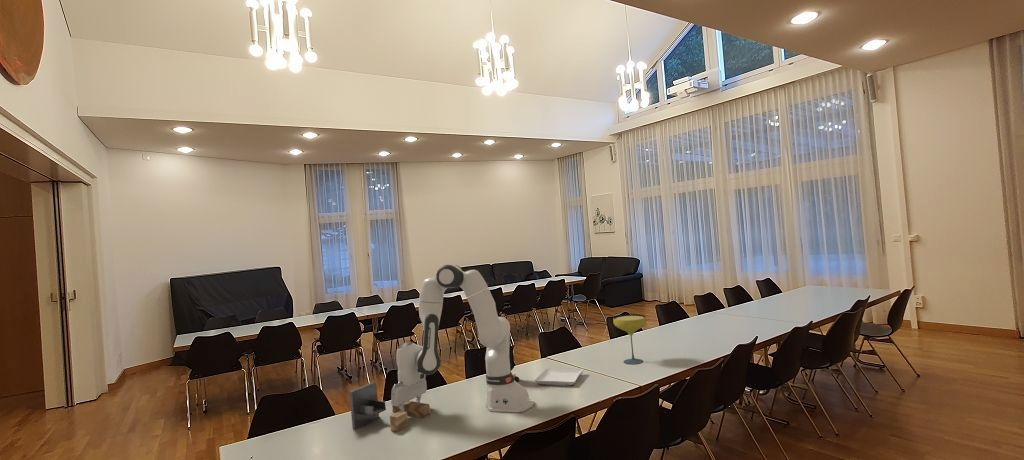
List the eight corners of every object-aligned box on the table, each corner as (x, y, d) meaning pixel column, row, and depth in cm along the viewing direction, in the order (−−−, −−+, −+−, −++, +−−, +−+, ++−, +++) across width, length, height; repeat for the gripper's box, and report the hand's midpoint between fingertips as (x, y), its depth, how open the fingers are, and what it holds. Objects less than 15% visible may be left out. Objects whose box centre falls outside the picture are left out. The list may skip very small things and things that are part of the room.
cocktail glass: (654, 364, 260) (649, 318, 260) (620, 367, 260) (616, 321, 261) (645, 356, 278) (641, 313, 278) (614, 358, 278) (610, 315, 279)
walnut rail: (430, 415, 215) (429, 404, 215) (423, 418, 212) (422, 407, 212) (399, 409, 226) (398, 398, 226) (392, 412, 223) (391, 401, 223)
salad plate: (534, 386, 242) (533, 380, 242) (547, 373, 262) (546, 367, 262) (575, 388, 234) (574, 381, 234) (585, 375, 254) (584, 368, 254)
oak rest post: (407, 426, 204) (406, 411, 204) (397, 431, 199) (396, 417, 199) (400, 424, 206) (399, 410, 206) (390, 430, 201) (389, 416, 201)
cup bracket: (392, 418, 214) (389, 383, 214) (368, 431, 202) (365, 393, 202) (376, 416, 219) (373, 381, 219) (352, 428, 207) (349, 391, 207)
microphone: (500, 387, 245) (496, 338, 245) (489, 381, 257) (485, 334, 257) (523, 381, 251) (519, 333, 251) (512, 375, 263) (508, 330, 263)
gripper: (397, 386, 209) (399, 418, 208) (427, 372, 226) (430, 402, 226) (386, 385, 212) (389, 416, 212) (417, 371, 229) (420, 400, 229)
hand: (410, 409), depth 219 cm, fingers open, 8 cm apart
